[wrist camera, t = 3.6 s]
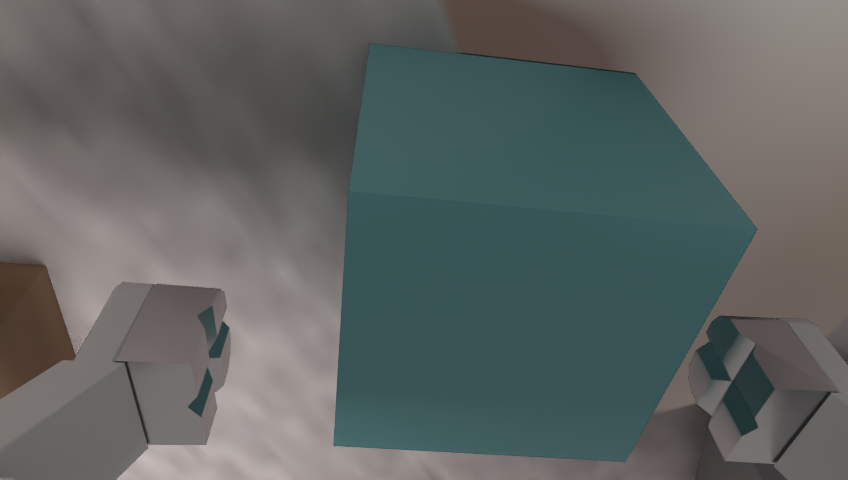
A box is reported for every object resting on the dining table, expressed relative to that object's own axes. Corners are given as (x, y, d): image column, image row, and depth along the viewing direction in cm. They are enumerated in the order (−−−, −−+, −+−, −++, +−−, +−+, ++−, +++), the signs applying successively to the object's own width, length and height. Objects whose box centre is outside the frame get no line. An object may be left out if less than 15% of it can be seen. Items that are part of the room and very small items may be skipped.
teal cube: (635, 72, 11) (757, 229, 7) (564, 273, 14) (625, 461, 10) (369, 41, 11) (348, 191, 7) (354, 256, 14) (332, 445, 10)
